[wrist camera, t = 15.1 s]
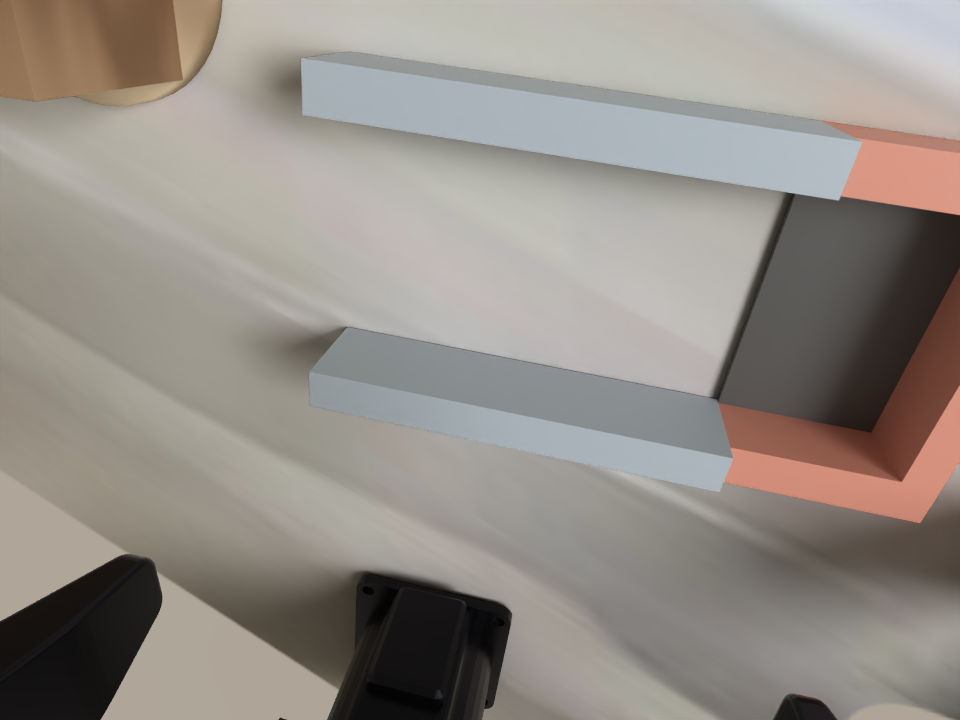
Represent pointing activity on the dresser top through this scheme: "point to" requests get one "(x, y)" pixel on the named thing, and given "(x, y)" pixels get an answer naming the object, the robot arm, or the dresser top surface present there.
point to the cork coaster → (196, 37)
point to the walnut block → (85, 46)
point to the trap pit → (857, 338)
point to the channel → (575, 134)
